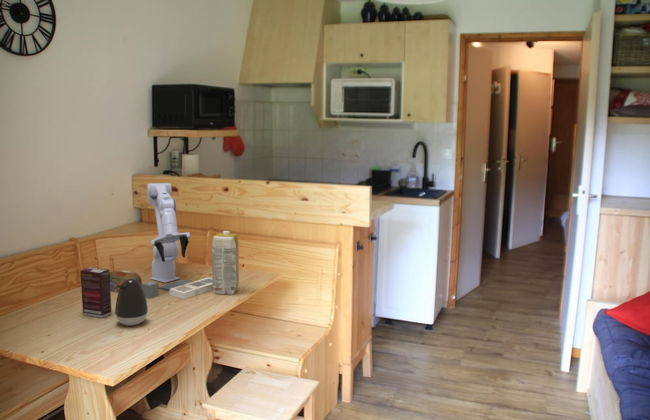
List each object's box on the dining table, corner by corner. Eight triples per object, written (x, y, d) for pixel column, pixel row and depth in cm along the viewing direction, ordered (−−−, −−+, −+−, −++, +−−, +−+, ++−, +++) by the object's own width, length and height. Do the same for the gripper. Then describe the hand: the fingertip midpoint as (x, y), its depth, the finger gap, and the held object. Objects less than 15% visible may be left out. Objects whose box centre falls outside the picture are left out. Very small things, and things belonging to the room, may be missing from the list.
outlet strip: (169, 295, 218) (169, 287, 217) (214, 280, 237) (214, 273, 237) (183, 299, 213) (183, 291, 213) (228, 284, 233) (228, 277, 232)
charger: (141, 296, 216) (141, 283, 215) (151, 293, 219) (150, 280, 219) (149, 298, 213) (148, 285, 212) (158, 295, 217) (158, 282, 216)
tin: (106, 290, 221) (106, 269, 220) (112, 288, 224) (111, 267, 223) (138, 296, 216) (137, 274, 214) (143, 293, 219) (143, 272, 217)
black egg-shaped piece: (108, 325, 186) (106, 280, 184) (132, 315, 195) (131, 272, 193) (131, 331, 182) (129, 285, 179) (154, 321, 191) (153, 277, 188)
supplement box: (112, 313, 197) (110, 269, 194) (102, 318, 192) (100, 272, 189) (91, 310, 199) (89, 266, 197) (81, 314, 195) (79, 269, 192)
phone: (158, 290, 225) (158, 287, 225) (183, 281, 237) (183, 278, 237) (171, 292, 222) (171, 290, 222) (195, 283, 234) (195, 281, 234)
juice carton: (240, 289, 226) (239, 230, 222) (234, 295, 219) (234, 234, 215) (217, 288, 227) (216, 229, 223) (211, 294, 220) (210, 233, 216)
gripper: (147, 226, 217) (151, 258, 211) (185, 218, 218) (190, 250, 212) (153, 234, 223) (156, 265, 217) (190, 226, 225) (194, 257, 219)
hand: (173, 258), depth 215 cm, fingers open, 7 cm apart
